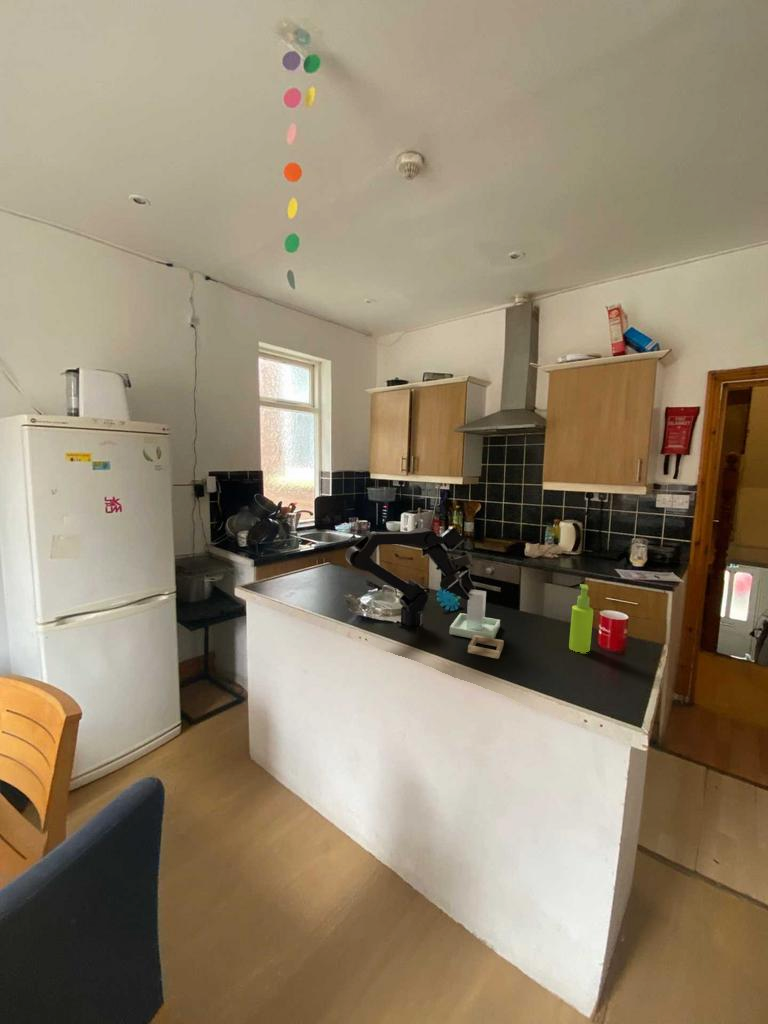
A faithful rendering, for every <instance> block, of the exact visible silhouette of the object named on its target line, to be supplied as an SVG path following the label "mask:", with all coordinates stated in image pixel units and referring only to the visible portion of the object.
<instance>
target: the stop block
mask: <svg viewBox="0 0 768 1024" xmlns="http://www.w3.org/2000/svg"><path fill="white" fill-rule="evenodd" d="M467 594H468V596H469V597H470V599H469V600H467V607H466V608H467V609H466V614H467V626H466V629H469V630H474V631H480V632H482V630H483V628H484V622H485V617H486V604H487V603H486V601H487V599H486V598H487V591H486V590H479V589H476V590H473V589H471V590H469V592H467Z"/></svg>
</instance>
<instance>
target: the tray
mask: <svg viewBox="0 0 768 1024" xmlns="http://www.w3.org/2000/svg"><path fill="white" fill-rule="evenodd" d="M466 626H467V613H461V612H459V614H458V615H457V617H456V618H455V619H454V620H453V622H452V623H451V625H450V626H449V635H451V636H452V635H453V636H457V637H462V638H468V639H472V638H473V637H474V635H477V636H483V637H488V638H493V639H496V636H497V633H498V632H499V630H500V627H501V619H497V618H491V617H486V616H485V622H484V628H483V630H482V632H480V631H474V630H469V629H466Z"/></svg>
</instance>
